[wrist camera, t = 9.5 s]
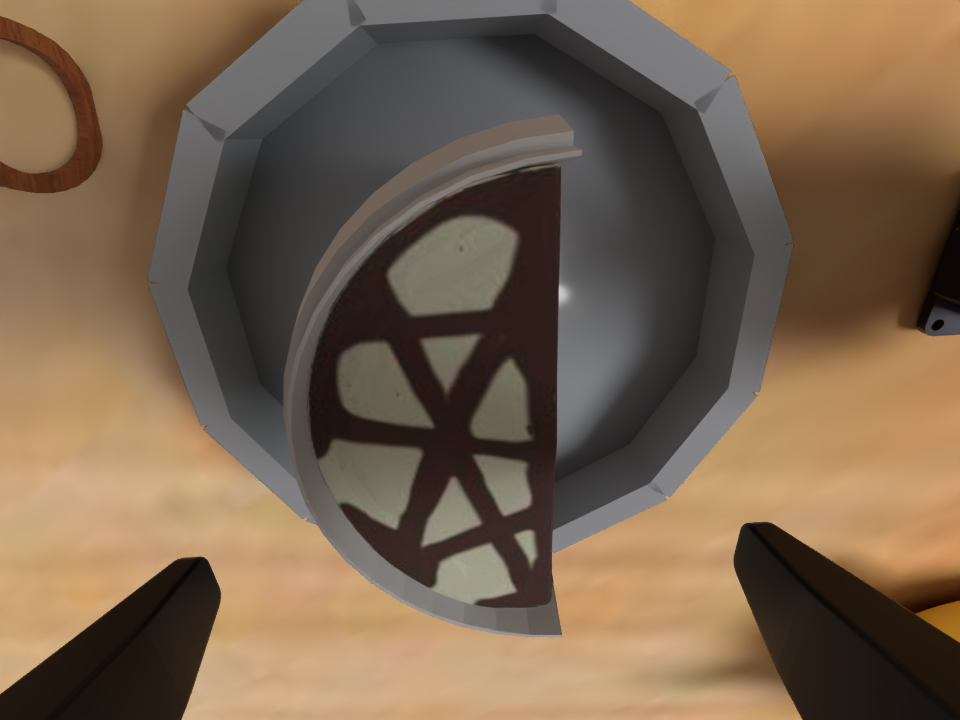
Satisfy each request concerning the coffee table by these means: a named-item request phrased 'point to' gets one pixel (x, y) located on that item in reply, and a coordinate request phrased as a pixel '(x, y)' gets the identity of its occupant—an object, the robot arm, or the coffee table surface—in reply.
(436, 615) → the food container
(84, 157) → the glasses
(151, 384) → the coffee table surface
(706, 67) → the bowl
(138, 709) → the robot arm
